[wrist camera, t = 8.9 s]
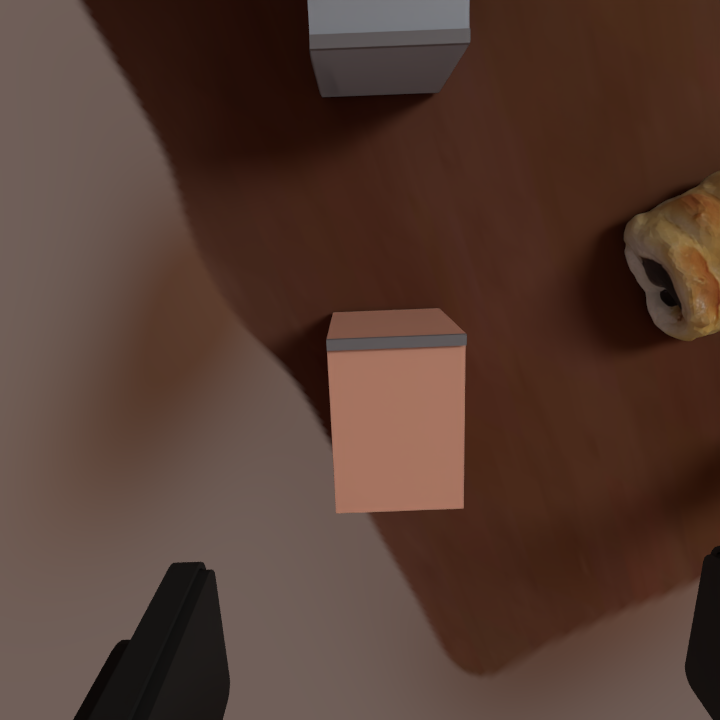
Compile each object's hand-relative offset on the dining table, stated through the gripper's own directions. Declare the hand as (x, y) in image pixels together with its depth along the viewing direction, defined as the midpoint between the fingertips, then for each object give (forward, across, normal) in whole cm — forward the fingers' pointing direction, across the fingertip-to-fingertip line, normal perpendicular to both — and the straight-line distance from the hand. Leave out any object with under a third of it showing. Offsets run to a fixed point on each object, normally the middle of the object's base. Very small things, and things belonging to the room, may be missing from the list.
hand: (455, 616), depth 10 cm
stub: (+16, 0, +1) cm, 16 cm away
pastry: (+17, -15, -5) cm, 23 cm away
